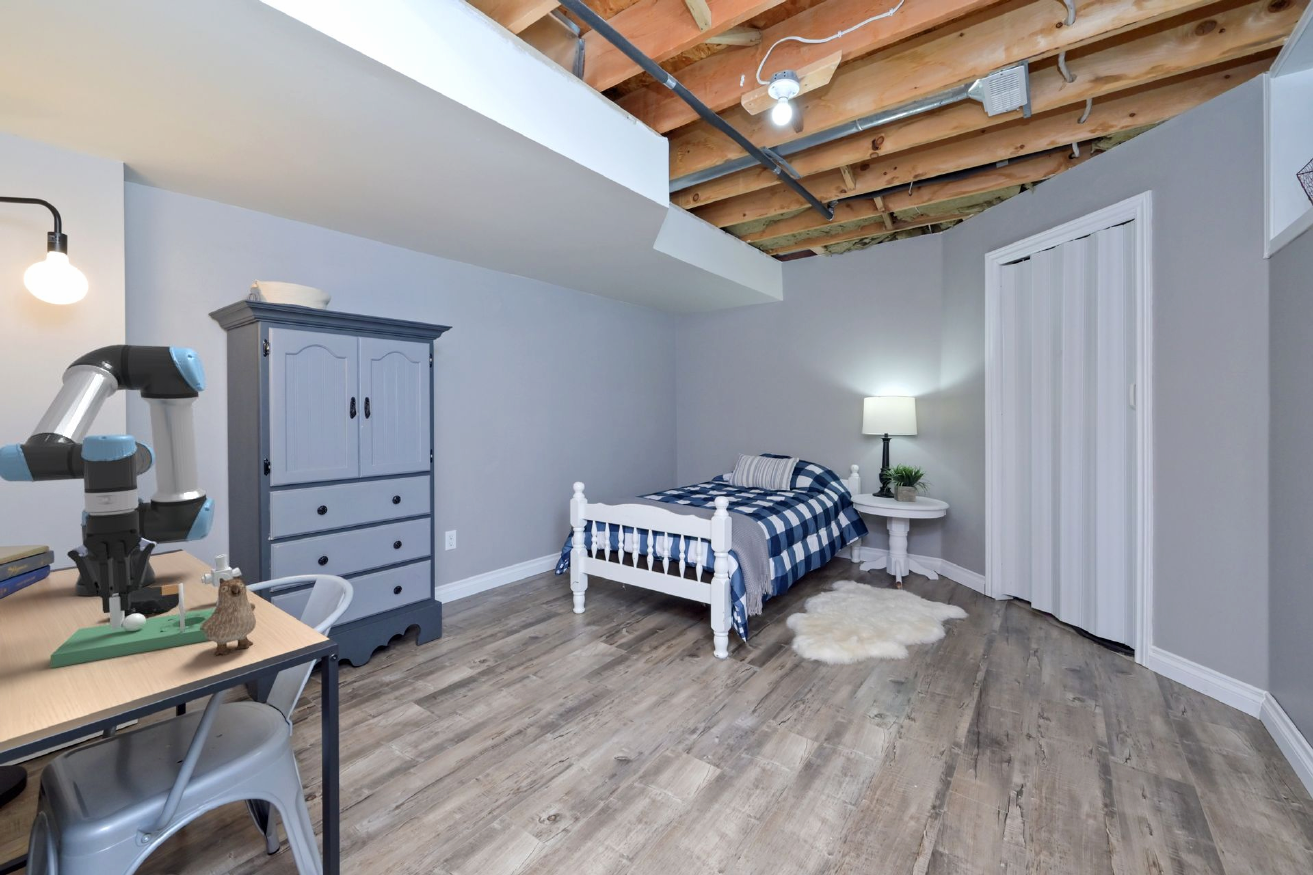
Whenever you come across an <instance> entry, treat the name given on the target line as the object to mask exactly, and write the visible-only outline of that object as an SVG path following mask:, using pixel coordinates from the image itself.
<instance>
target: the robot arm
mask: <svg viewBox="0 0 1313 875" xmlns="http://www.w3.org/2000/svg"><path fill="white" fill-rule="evenodd" d="M61 380H62V384H63V385H62V386H61V388H60V390H58V393H57V394H56V396H55V397H54V399H53V400H52V402H51V403H50V405H49V407H48V408H47V410H46V411H45V413H44V414H43V416H42V417H41V419H40V420H39V422H38V424H37V425H36V427H35V428H34V429H33V431H32V433H31V434H30V436H29V437H28V439H27V440H26V442H25V443H24V444H23V443H16V444H6V445H5V446H2V447H0V478H1V479H3V480H4V481H7V482H30V483H34V482H45V481H46V482H47V481H48V482H50V481H65V480H67V481H68V480H83V485H84V487H83V488H84V490H83V494H84V495H83V496H84V508H83V510H82V512H81V523H80V527H81V538H82V539H81V540H82V544H81V545H80V546H78V547H75V548H73V549H71V550H70V551H67V557H69V558H70V559H71V560H72V561H73V562H74V563H75V566H76V568H77V570H78V572H79V574H78V577H77V580H76V582H75V590H74V591H75V594H76V595H78V596H84V597H85V596H86V597H87V596H89V597H100V598H101V600H102V601H101V602H102V612H103V614H109V621H110V623H109V624H110V627H111V630H114V629H121V627H122V623H123V620H124V619H125V618H126V616H124V610H128V609H129V608H130V606H131V601H130V593H131V592H133V591H137V590H138V589H139V588H143V587H147V586H148V585H151V584H152V583H154V582H155V581H156V574H155V570H154V569H153V567H152V565H151V563H150V558H151V554H152V552H153V551H154V550H155V549H156V547H157V546H158V545H162V544H163V545H164V544H173V543H174V544H175V543H183V542H184V543H189V542H195V541H201V540H205V539H206V538H208V536H209V534H210V532H211V530H212V526H213V522H214V521H213V520H214V515H215V499H214V498H211V497H207V492H206V490H204V489H202V488H201V487H199V479H198V466H197V465H198V464H197V454H196V453H197V451H196V438H195V424H194V414H193V411H194V410H193V403H194V402H195V401H196V400H197V399H199V396H200V395H199V393H201V392H203V391H205V389H206V385H207V384H206V375H205V369H204V366H203V363H202V361H201V358H200V356H199V354H198V353H197V352H196V351H195V350H194V349H192V348H188V347H179V346H178V347H177V346H162V345H161V346H160V345H131V344H113V345H112V344H111V345H106V346H102V347H99V348H96V349H94V350H91V351H89V352H87V353H85V354H84V355H81V356H79V357H78V358H77V359H75V360H74V361H73V362H72V363H70V364H69V365H68V367H67V368H66V369H65V371H64V372H63V374H62V378H61ZM117 391H139V392H140V398H141V399H142V400H143V401H144V402H146V403H147V404H148V405H149V415H150V426H151V436H152V447H153V448H152V447H150V446H149V445H148V444H146V443H143V442H141V441H140V442H139V441H136V440H135V437H134V436H133V435H131V434H97V435H95V434H93V435H91V434H90V435H87V433H88V432H89V431H90V429H91V426H92V425H93V423H94V421H95V419H96V417H97V416H98V414H99V413H100V411H101V408H102V407H103V405H104V403H105V402H106V399H108V398H109V397H112V396H113V395H114V394H116V392H117ZM152 467H154V469H155V478H156V491H155V492H154V493H153V494H152V495H151V496H150V502H149V501H148V502H145V501H144V499H143V498H142V497H139V493H138V476H141V475H144V474H145V473H146V472H148V471H150V469H151V468H152Z"/></svg>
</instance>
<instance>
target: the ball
mask: <svg viewBox="0 0 1313 875" xmlns="http://www.w3.org/2000/svg"><path fill="white" fill-rule="evenodd" d="M146 619H147V618H146V615H142V614H138V613H136V614H131V615H129V616H125V619H124V620H123V623H122V626H123V628H124V629H125V630H127V631H137V630H139V629H141V628H142V627H143V626H144V625H145V623H146Z"/></svg>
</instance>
